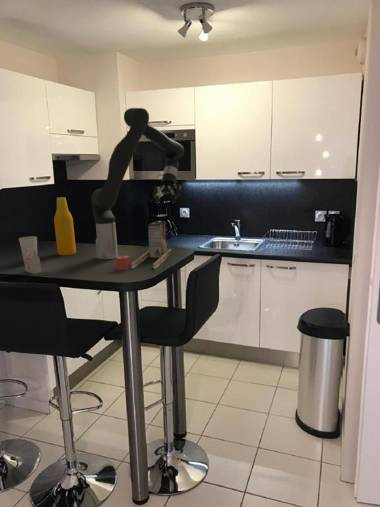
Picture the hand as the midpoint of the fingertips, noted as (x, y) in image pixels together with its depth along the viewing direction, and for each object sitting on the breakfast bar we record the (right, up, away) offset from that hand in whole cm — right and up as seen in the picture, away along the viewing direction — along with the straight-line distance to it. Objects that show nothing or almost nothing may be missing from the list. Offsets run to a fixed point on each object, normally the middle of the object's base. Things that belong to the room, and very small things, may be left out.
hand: (164, 203), depth 208 cm
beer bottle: (-51, -26, +6) cm, 58 cm away
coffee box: (-3, -27, -6) cm, 28 cm away
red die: (-16, -32, -29) cm, 46 cm away
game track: (-5, -29, -16) cm, 33 cm away
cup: (-64, -30, -10) cm, 71 cm away
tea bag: (-56, -34, -28) cm, 71 cm away
